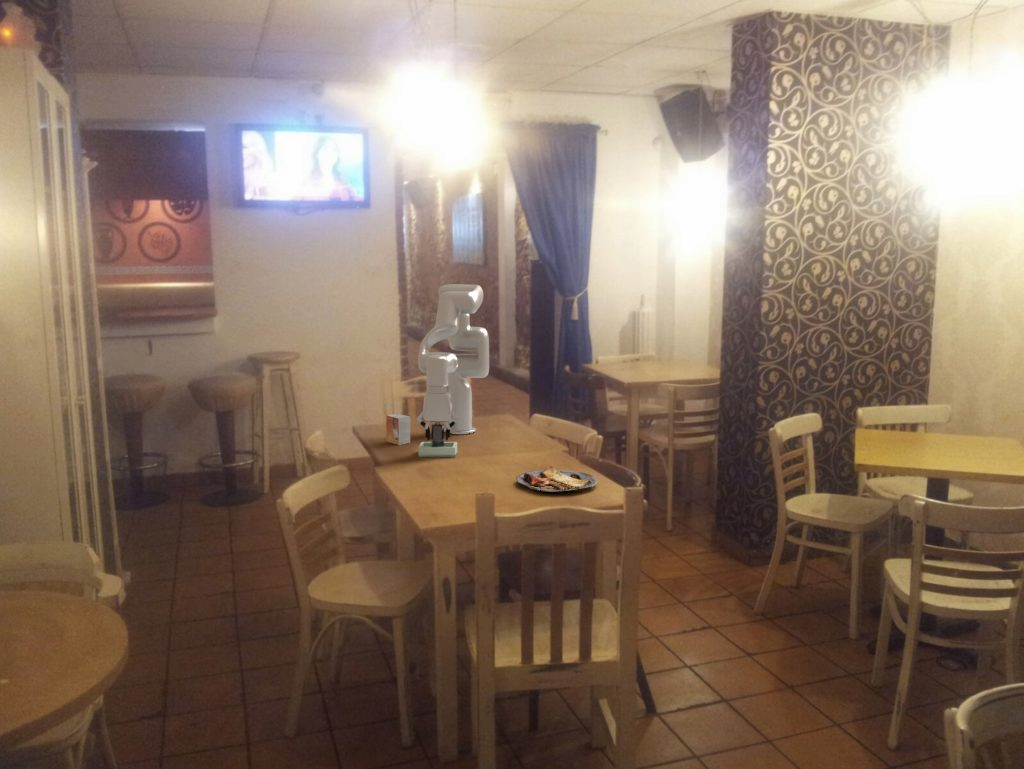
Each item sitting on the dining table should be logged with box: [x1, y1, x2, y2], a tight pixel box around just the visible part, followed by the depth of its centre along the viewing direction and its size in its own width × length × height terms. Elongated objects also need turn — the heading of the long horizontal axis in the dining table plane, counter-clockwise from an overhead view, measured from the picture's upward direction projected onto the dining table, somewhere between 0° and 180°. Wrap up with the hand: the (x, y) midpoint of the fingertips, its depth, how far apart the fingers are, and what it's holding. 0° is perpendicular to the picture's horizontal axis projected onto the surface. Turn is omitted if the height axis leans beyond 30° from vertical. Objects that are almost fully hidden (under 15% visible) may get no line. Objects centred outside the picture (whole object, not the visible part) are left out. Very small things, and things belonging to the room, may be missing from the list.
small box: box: [385, 413, 411, 446], centre depth 335 cm, size 8×6×10 cm
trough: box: [418, 441, 458, 458], centre depth 317 cm, size 9×13×4 cm
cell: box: [430, 422, 445, 447], centre depth 316 cm, size 4×4×11 cm
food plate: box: [515, 465, 598, 493], centre depth 276 cm, size 25×23×4 cm
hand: (437, 439), depth 316 cm, fingers open, 6 cm apart
